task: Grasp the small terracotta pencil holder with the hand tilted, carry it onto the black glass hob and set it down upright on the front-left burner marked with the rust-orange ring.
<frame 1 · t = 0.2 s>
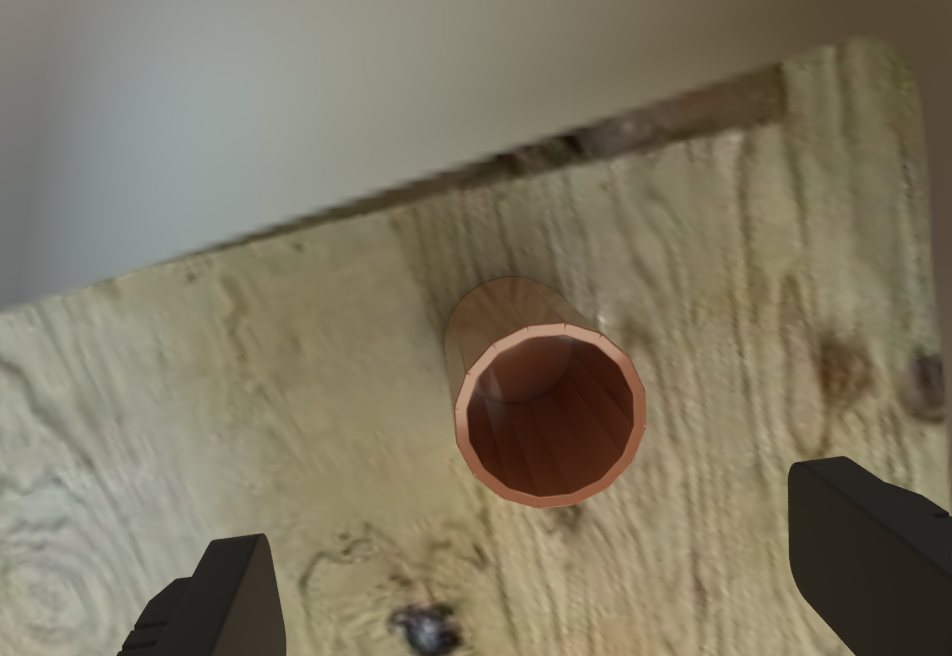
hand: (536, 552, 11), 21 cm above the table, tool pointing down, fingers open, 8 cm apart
terracotta pencil holder: (511, 343, 32), on the table
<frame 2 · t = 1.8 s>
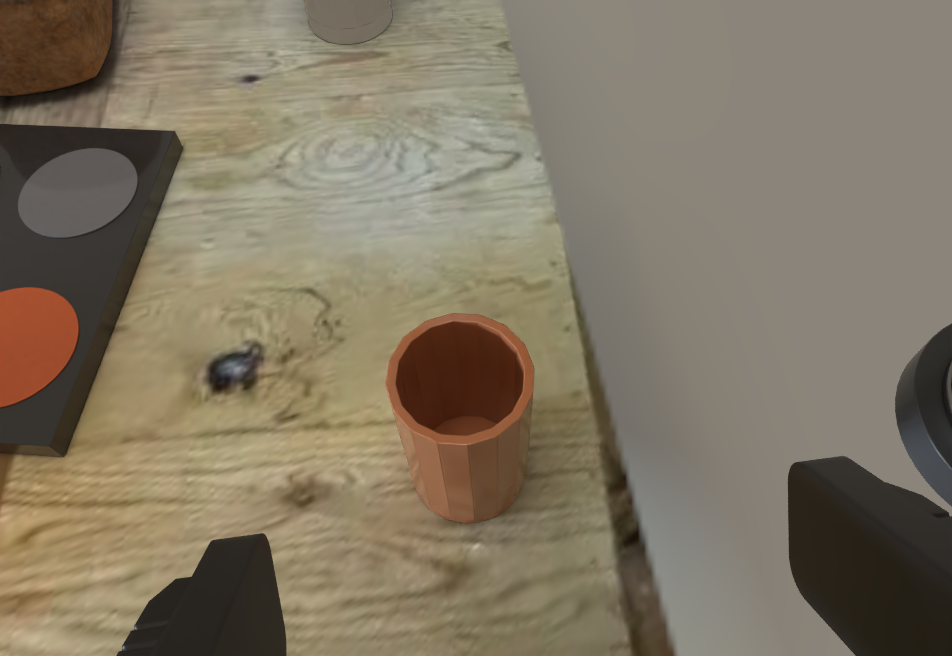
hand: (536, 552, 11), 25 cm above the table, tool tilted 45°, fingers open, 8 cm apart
terracotta pencil holder: (468, 466, 38), on the table
cup: (351, 18, 57), on the table
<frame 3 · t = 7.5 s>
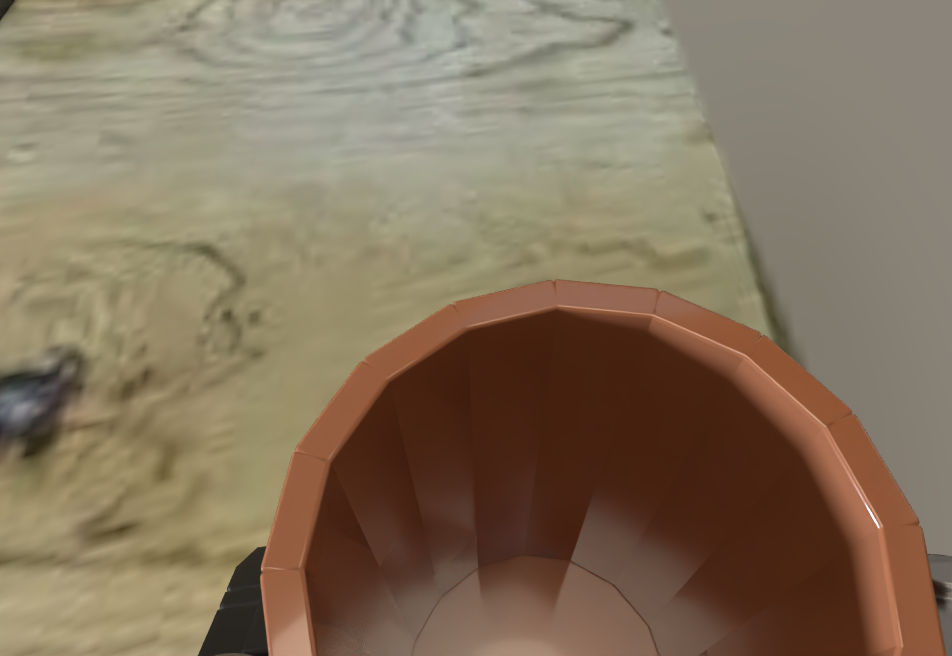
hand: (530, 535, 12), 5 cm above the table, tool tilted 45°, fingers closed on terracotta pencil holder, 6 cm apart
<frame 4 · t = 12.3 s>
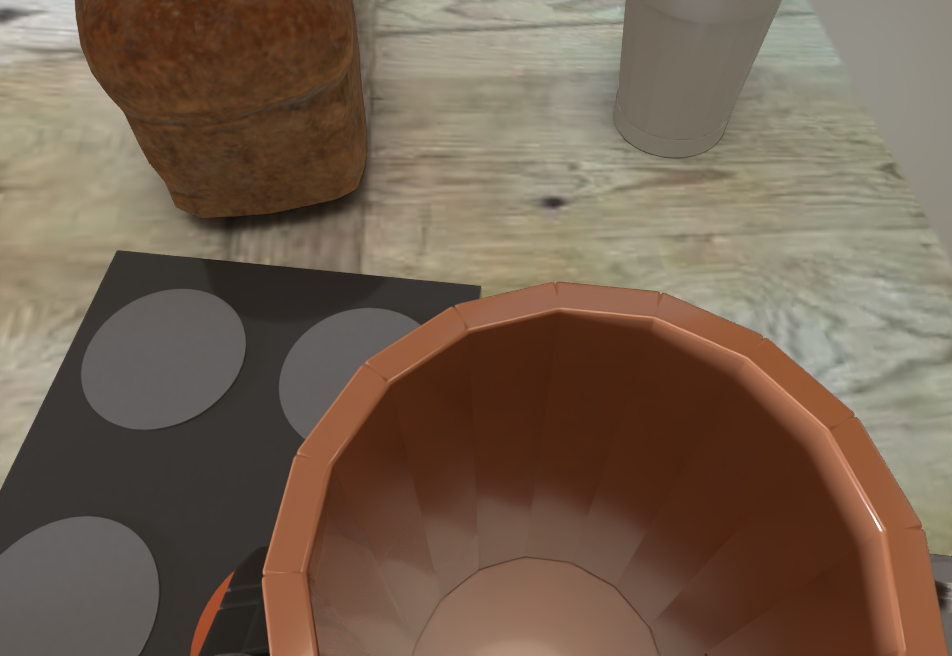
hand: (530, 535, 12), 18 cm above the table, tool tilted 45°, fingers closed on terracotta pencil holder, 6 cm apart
bread: (272, 68, 46), on the table
stove: (235, 498, 32), on the table
cup: (668, 120, 43), on the table
when the fingers open (6 cm above the table, at t = 17.2 s): terracotta pencil holder stays where it is, resting on stove.
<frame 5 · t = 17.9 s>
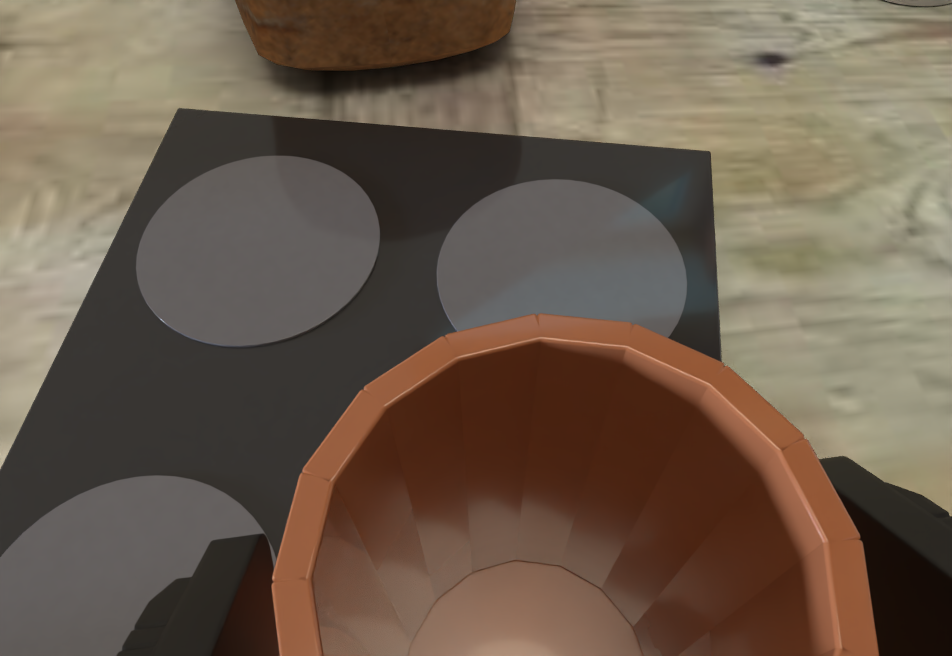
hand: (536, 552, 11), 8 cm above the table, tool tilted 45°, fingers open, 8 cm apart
stove: (377, 451, 21), on the table
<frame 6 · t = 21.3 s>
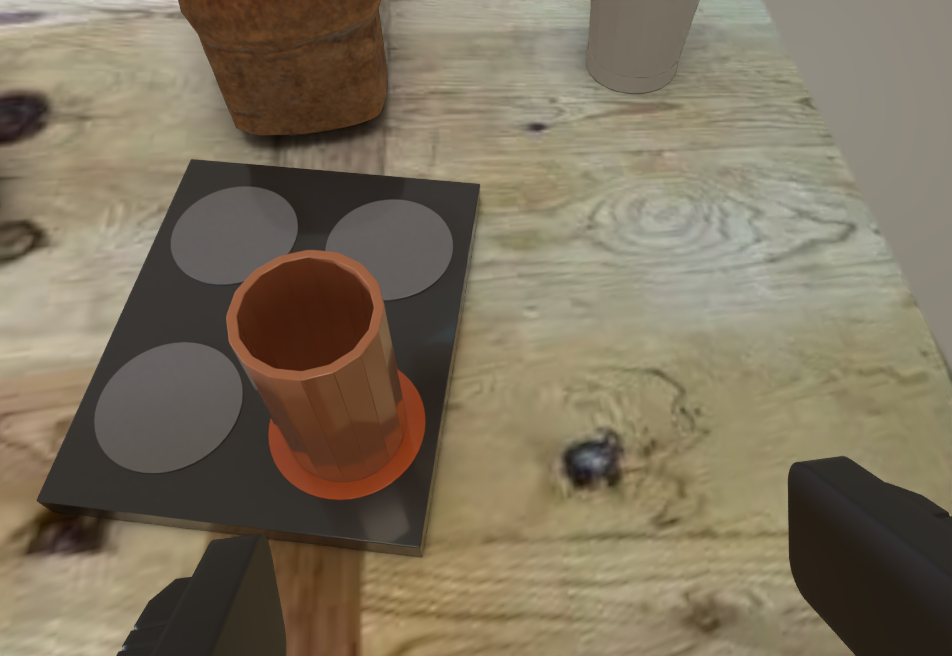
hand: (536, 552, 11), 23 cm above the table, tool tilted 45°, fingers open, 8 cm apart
bread: (305, 25, 56), on the table
terracotta pencil holder: (346, 425, 37), point 2 cm above the table, touching stove
stove: (292, 336, 41), on the table
cup: (630, 65, 53), on the table
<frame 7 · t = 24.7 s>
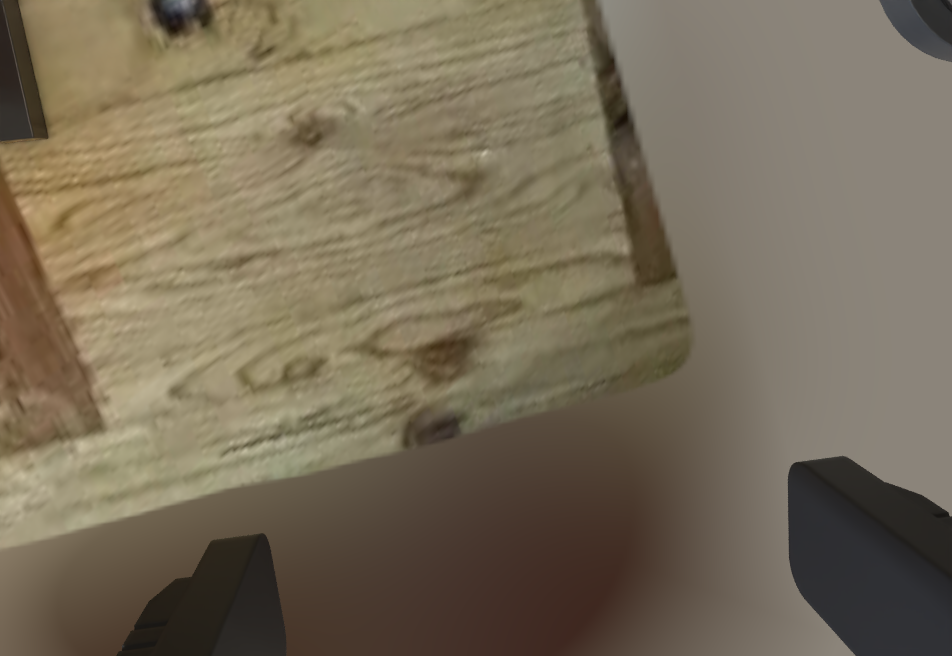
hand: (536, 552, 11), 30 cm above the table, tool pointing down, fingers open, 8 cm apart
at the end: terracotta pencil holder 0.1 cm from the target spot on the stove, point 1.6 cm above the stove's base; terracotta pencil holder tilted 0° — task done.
